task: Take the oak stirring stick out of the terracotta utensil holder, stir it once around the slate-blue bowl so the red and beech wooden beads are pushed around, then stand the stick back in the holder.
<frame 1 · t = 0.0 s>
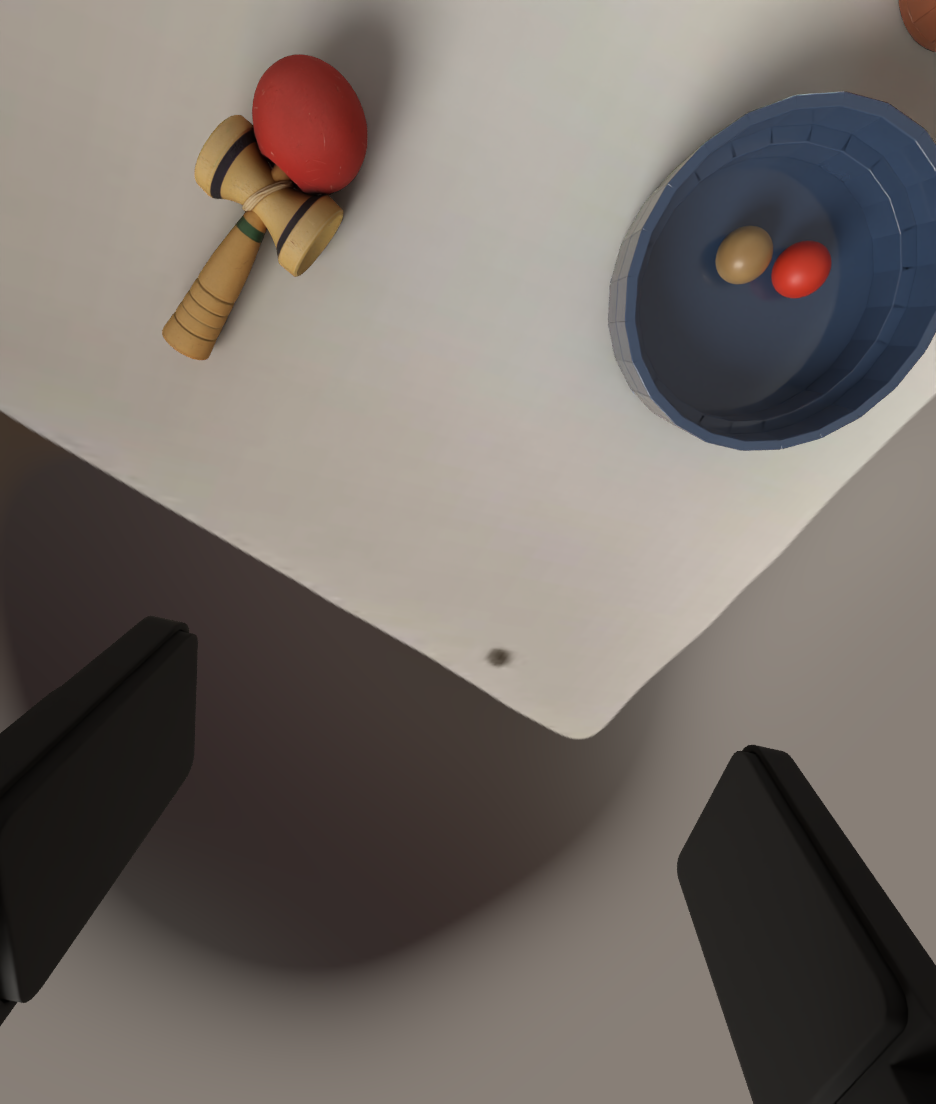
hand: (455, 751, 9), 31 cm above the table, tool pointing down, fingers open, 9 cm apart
bowl: (744, 297, 34), on the table
kendama: (273, 235, 34), on the table
beech bead: (743, 255, 31), point 2 cm above the table, touching bowl
red bead: (800, 270, 32), point 2 cm above the table, touching bowl
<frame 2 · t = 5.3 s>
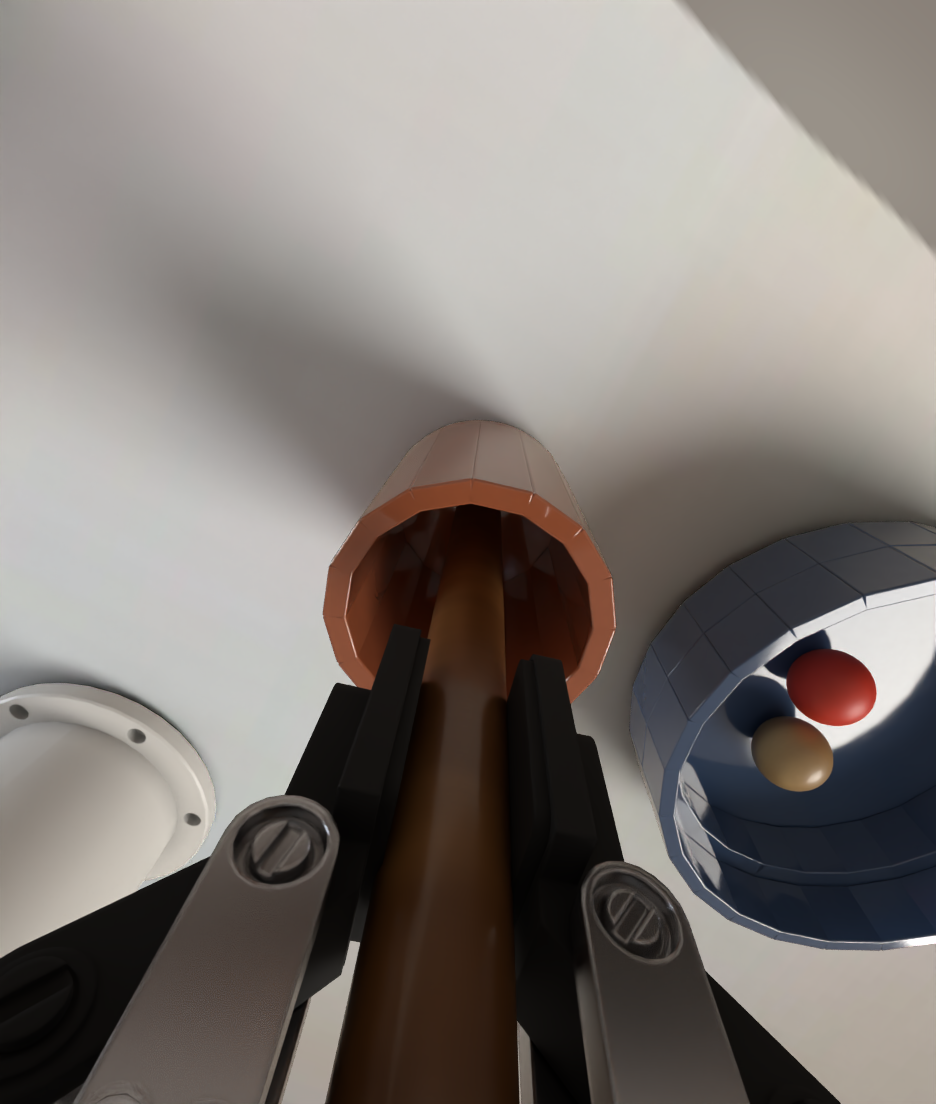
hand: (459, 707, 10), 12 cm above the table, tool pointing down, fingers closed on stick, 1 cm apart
stick: (477, 515, 21), point 1 cm above the table, touching gripper
bowl: (821, 697, 24), on the table
beech bead: (790, 753, 23), point 2 cm above the table, touching bowl
red bead: (829, 686, 22), point 2 cm above the table, touching bowl
holder: (478, 510, 22), on the table
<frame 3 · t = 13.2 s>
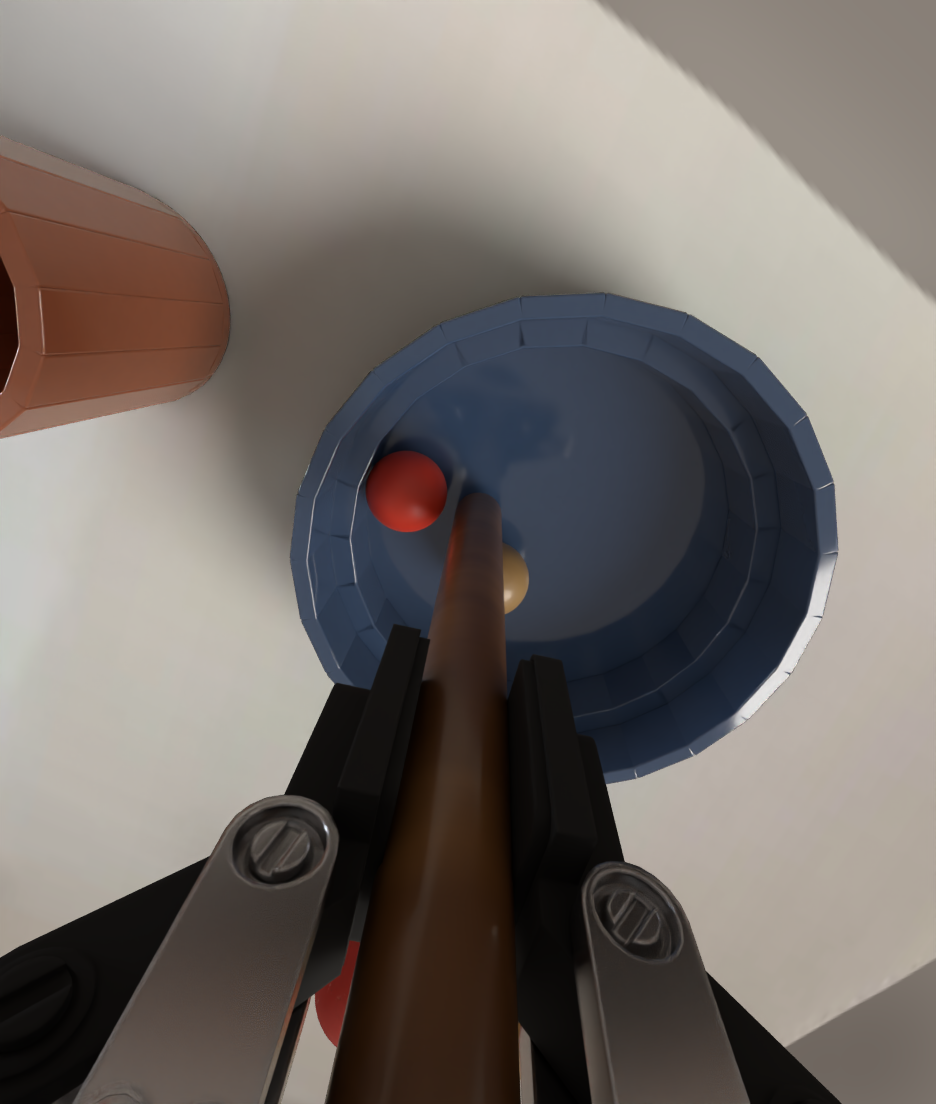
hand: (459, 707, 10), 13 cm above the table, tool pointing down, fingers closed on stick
stick: (478, 514, 21), point 1 cm above the table, touching gripper
bowl: (542, 529, 23), on the table
kendama: (457, 970, 34), on the table
beech bead: (490, 578, 21), point 2 cm above the table, touching bowl
red bead: (406, 491, 20), point 2 cm above the table, tilted 150°, touching bowl
holder: (134, 301, 20), on the table
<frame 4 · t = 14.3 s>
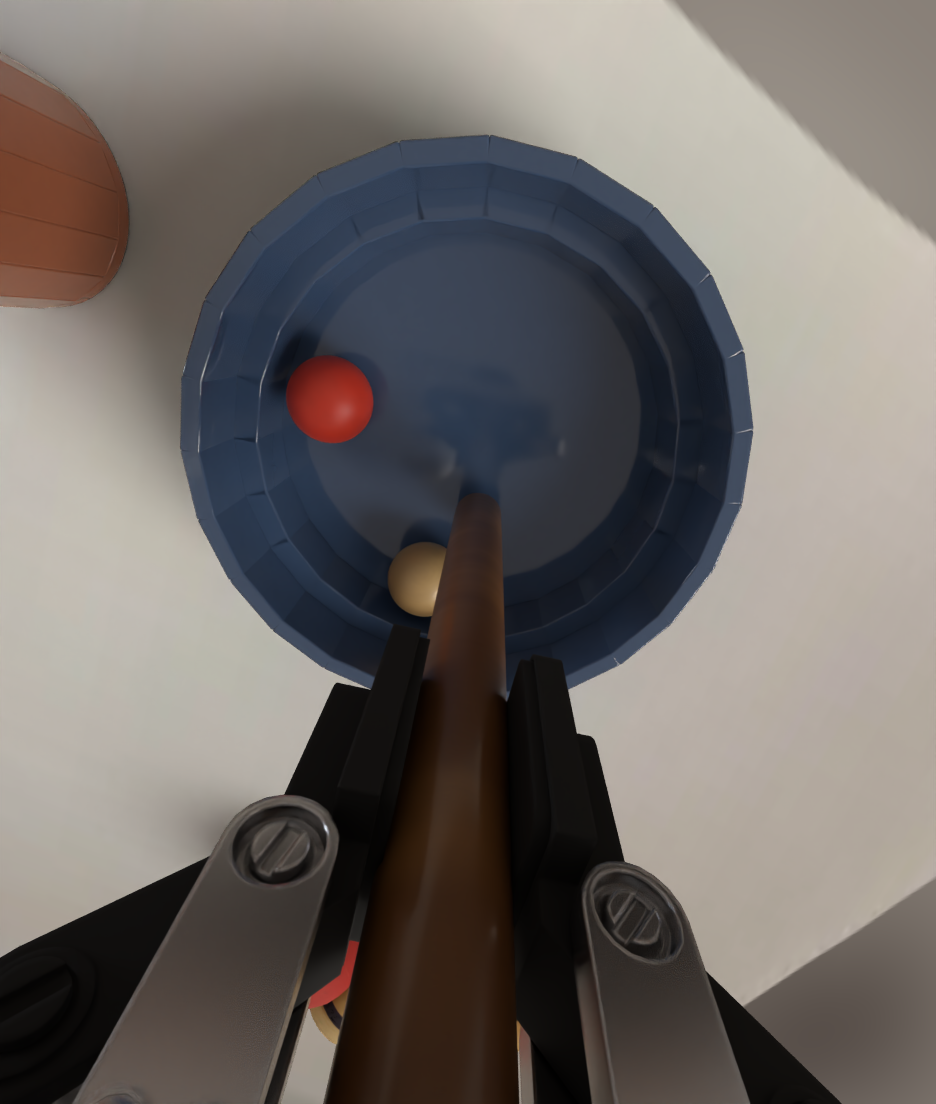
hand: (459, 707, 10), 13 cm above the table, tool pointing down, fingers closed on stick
stick: (478, 514, 21), point 2 cm above the table, touching gripper
bowl: (468, 443, 22), on the table
kendama: (409, 927, 33), on the table
beech bead: (425, 579, 22), point 2 cm above the table, tilted 143°, touching bowl
red bead: (330, 400, 19), point 2 cm above the table, tilted 131°, touching bowl
holder: (27, 195, 19), on the table
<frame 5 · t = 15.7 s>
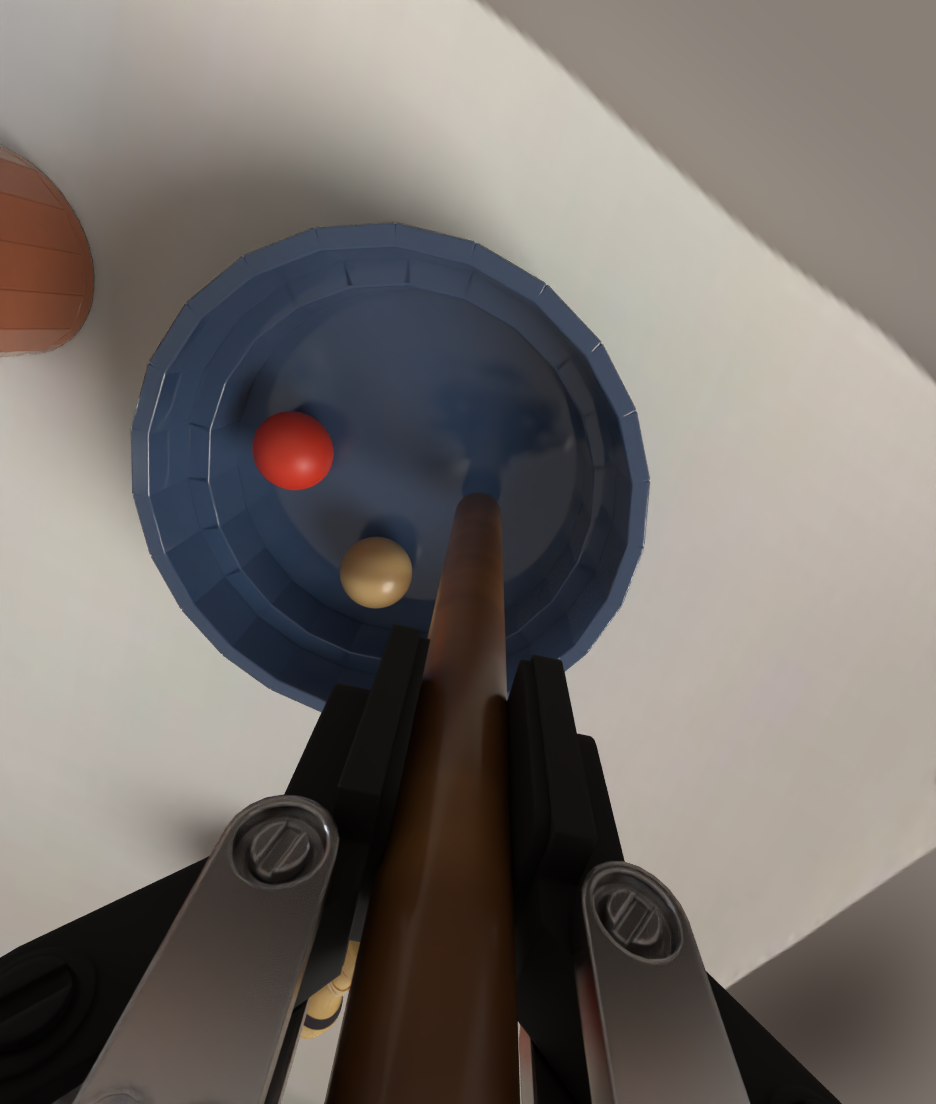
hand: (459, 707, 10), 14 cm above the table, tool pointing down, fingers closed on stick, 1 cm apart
stick: (478, 514, 21), point 2 cm above the table, touching gripper
bowl: (411, 478, 23), on the table
kendama: (375, 928, 35), on the table
beech bead: (376, 572, 23), point 2 cm above the table, tilted 82°, touching bowl
red bead: (293, 451, 21), point 2 cm above the table, tilted 105°, touching bowl
holder: (1, 254, 21), on the table
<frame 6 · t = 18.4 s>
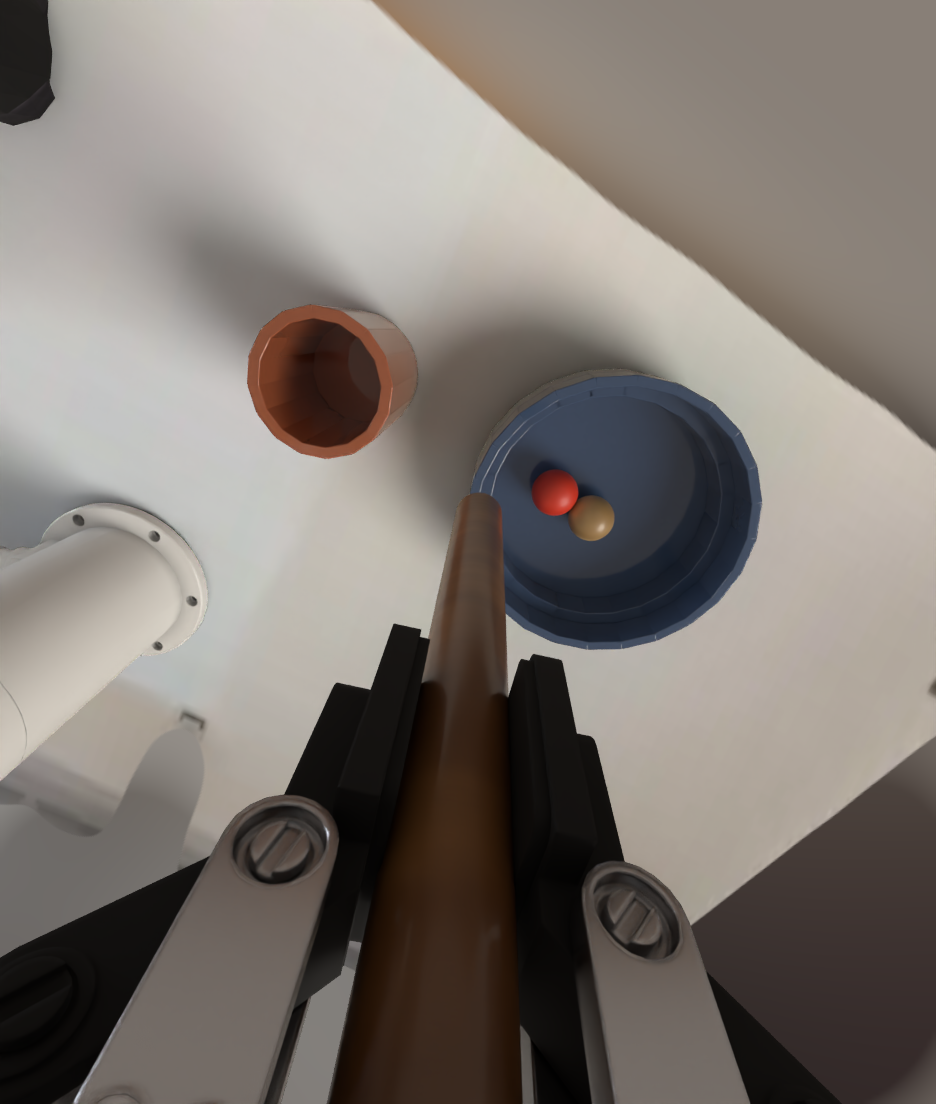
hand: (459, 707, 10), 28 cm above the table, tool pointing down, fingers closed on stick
stick: (478, 514, 21), point 16 cm above the table, touching gripper
bowl: (595, 499, 37), on the table
beech bead: (590, 518, 36), point 2 cm above the table, tilted 32°, touching bowl
red bead: (554, 492, 35), point 2 cm above the table, tilted 58°, touching bowl
holder: (362, 371, 35), on the table
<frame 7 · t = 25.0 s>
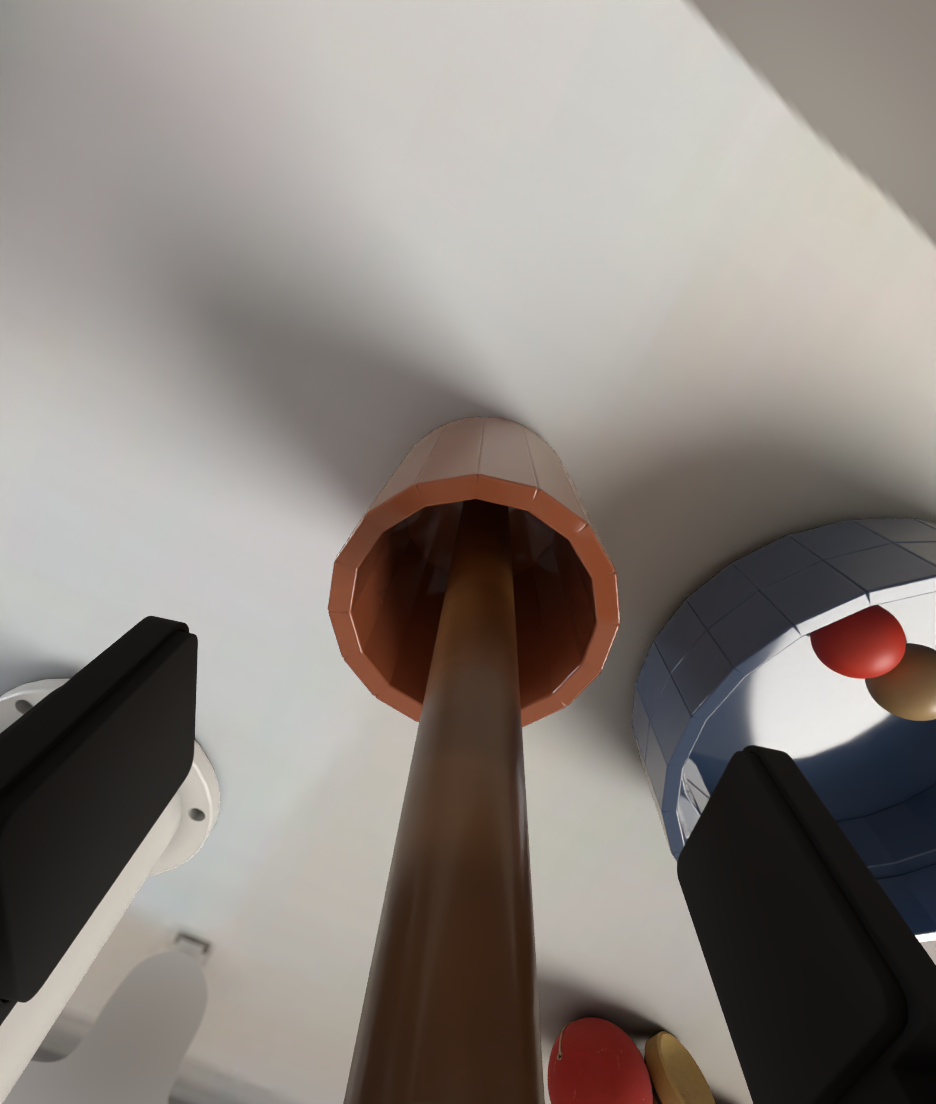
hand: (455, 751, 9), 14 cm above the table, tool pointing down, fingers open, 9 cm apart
stick: (485, 507, 21), point 1 cm above the table, touching holder
bowl: (824, 694, 24), on the table
kendama: (654, 1059, 36), on the table
beech bead: (911, 681, 21), point 2 cm above the table, tilted 172°, touching bowl
red bead: (856, 638, 21), point 2 cm above the table, tilted 105°, touching bowl
holder: (482, 507, 22), on the table
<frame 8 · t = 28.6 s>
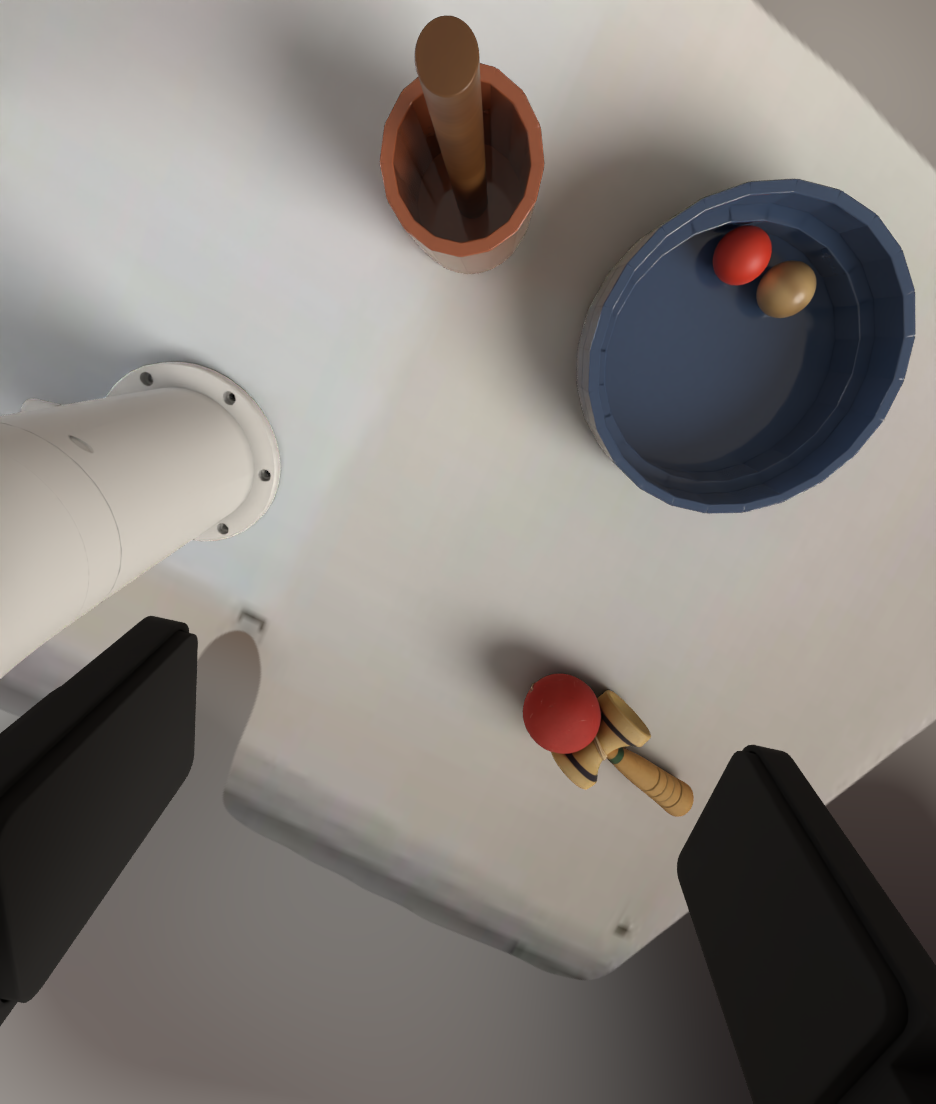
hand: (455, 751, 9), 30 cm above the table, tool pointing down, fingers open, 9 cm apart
stick: (472, 200, 32), point 1 cm above the table, touching holder
bowl: (710, 359, 35), on the table
kendama: (607, 727, 47), on the table
beech bead: (785, 289, 31), point 2 cm above the table, tilted 110°, touching bowl
red bead: (741, 256, 31), point 2 cm above the table, tilted 125°, touching bowl
holder: (470, 206, 32), on the table
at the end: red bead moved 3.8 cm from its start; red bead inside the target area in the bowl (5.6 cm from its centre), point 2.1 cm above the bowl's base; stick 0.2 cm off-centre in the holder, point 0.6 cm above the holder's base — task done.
